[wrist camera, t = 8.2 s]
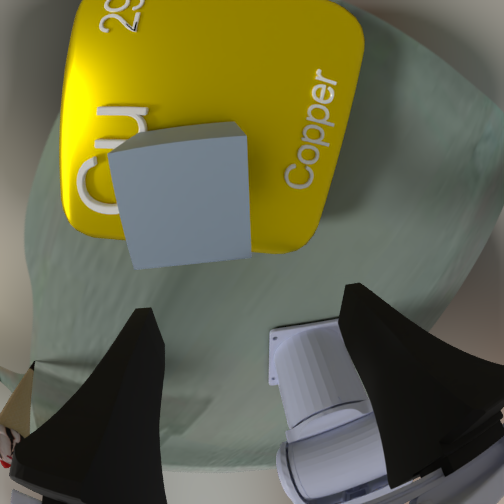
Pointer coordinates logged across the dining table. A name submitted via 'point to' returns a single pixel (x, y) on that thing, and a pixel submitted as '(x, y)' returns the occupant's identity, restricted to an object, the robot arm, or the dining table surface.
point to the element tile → (212, 100)
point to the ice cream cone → (16, 418)
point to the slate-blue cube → (184, 194)
